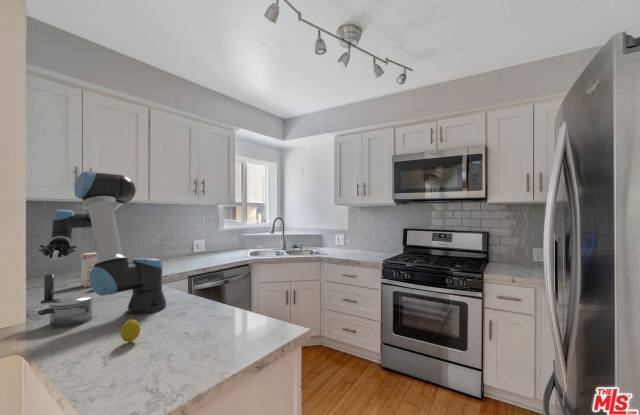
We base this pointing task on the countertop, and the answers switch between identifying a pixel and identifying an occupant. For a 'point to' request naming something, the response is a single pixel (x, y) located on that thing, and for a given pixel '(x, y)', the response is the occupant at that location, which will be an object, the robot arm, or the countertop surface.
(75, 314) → the pot
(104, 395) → the countertop surface
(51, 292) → the lid
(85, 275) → the coffeecake box
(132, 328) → the lemon
